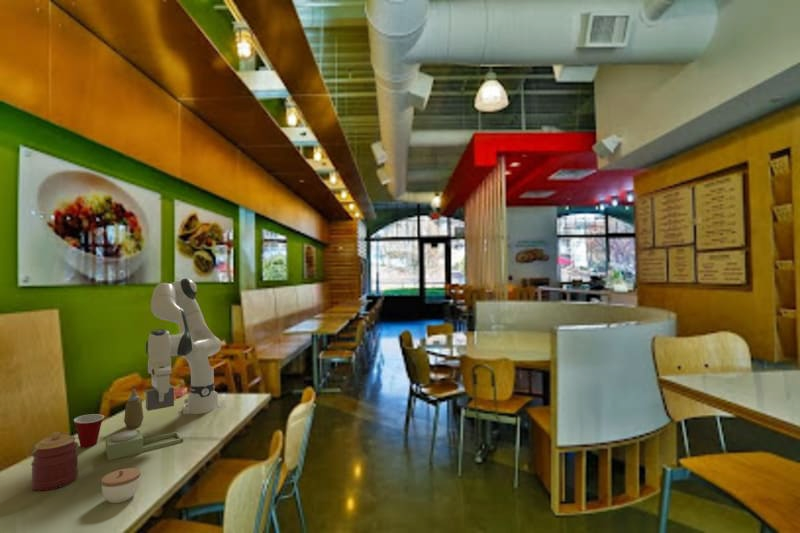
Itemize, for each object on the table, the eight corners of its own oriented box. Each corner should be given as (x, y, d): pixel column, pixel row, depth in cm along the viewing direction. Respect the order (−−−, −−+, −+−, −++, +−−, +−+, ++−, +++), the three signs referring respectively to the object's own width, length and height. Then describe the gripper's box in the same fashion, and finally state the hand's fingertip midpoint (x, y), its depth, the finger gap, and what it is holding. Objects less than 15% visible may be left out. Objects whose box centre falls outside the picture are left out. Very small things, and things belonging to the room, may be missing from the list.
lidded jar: (147, 490, 144) (147, 462, 144) (128, 507, 133) (128, 477, 133) (114, 491, 144) (114, 463, 144) (93, 508, 133) (93, 478, 133)
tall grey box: (145, 408, 183) (145, 389, 184) (171, 403, 190) (171, 385, 190) (147, 410, 179) (147, 391, 180) (173, 406, 186) (173, 387, 186)
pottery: (170, 395, 262) (170, 378, 262) (187, 394, 263) (187, 378, 264) (158, 403, 244) (158, 386, 245) (175, 402, 246) (175, 385, 246)
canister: (72, 470, 160) (72, 423, 160) (83, 480, 152) (83, 430, 152) (27, 484, 150) (27, 433, 150) (35, 495, 141) (35, 442, 142)
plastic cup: (93, 449, 179) (93, 421, 179) (67, 450, 178) (67, 421, 179) (110, 439, 190) (110, 412, 190) (85, 440, 189) (85, 413, 190)
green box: (105, 451, 177) (105, 434, 177) (177, 435, 194) (177, 419, 194) (108, 461, 168) (108, 442, 168) (183, 443, 184) (183, 426, 184)
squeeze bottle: (147, 423, 210) (147, 387, 210) (135, 429, 202) (135, 391, 202) (132, 423, 211) (132, 387, 211) (119, 429, 203) (119, 391, 203)
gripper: (147, 364, 191) (147, 395, 191) (155, 372, 175) (155, 406, 175) (163, 362, 195) (163, 393, 195) (172, 370, 179) (172, 403, 179)
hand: (159, 399), depth 185 cm, fingers closed on tall grey box, 5 cm apart
